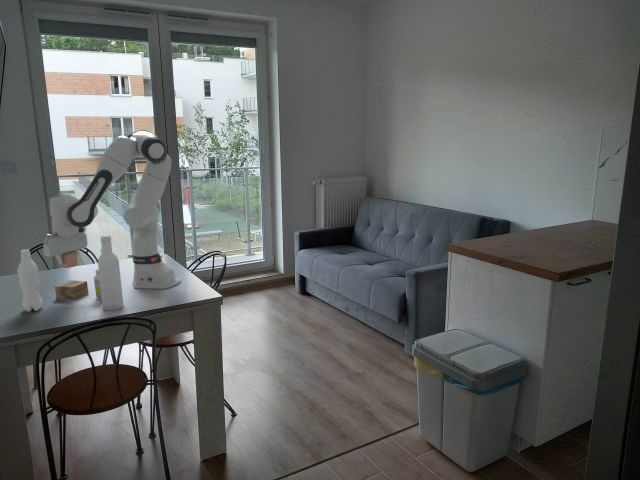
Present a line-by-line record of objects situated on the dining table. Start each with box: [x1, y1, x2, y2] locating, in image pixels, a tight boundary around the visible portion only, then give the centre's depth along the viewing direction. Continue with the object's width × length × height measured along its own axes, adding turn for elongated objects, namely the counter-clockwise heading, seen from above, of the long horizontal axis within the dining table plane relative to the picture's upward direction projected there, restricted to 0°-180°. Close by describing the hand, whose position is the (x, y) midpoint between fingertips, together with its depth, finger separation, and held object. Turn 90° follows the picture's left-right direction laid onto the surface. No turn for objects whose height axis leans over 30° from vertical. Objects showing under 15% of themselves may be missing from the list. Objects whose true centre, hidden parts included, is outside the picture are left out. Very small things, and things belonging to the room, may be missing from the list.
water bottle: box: [16, 249, 44, 313], centre depth 193 cm, size 7×7×25 cm
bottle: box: [97, 234, 124, 311], centre depth 194 cm, size 8×8×30 cm
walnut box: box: [54, 280, 89, 301], centre depth 211 cm, size 9×9×6 cm
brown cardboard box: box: [57, 251, 79, 269], centre depth 208 cm, size 6×6×6 cm
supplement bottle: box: [93, 268, 102, 300], centre depth 208 cm, size 7×7×13 cm
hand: (68, 262), depth 208 cm, fingers closed on brown cardboard box, 5 cm apart
